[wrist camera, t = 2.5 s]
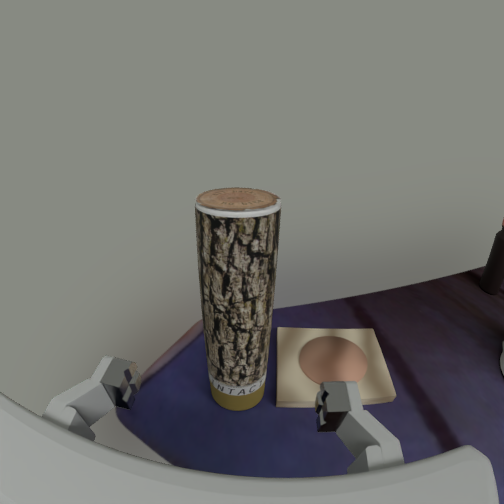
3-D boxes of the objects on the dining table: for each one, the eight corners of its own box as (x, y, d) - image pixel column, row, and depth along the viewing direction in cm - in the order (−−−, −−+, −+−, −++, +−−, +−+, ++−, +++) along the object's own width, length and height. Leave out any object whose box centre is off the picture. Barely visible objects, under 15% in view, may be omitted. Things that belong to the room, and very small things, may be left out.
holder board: (370, 335, 43) (373, 327, 42) (392, 401, 30) (397, 394, 29) (276, 334, 43) (277, 325, 43) (276, 406, 31) (277, 399, 30)
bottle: (475, 281, 58) (497, 212, 49) (491, 283, 56) (513, 218, 47) (484, 294, 52) (509, 221, 43) (500, 296, 50) (525, 227, 41)
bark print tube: (212, 372, 36) (199, 187, 25) (261, 372, 36) (274, 188, 25) (210, 413, 30) (189, 211, 19) (266, 412, 30) (288, 211, 19)
